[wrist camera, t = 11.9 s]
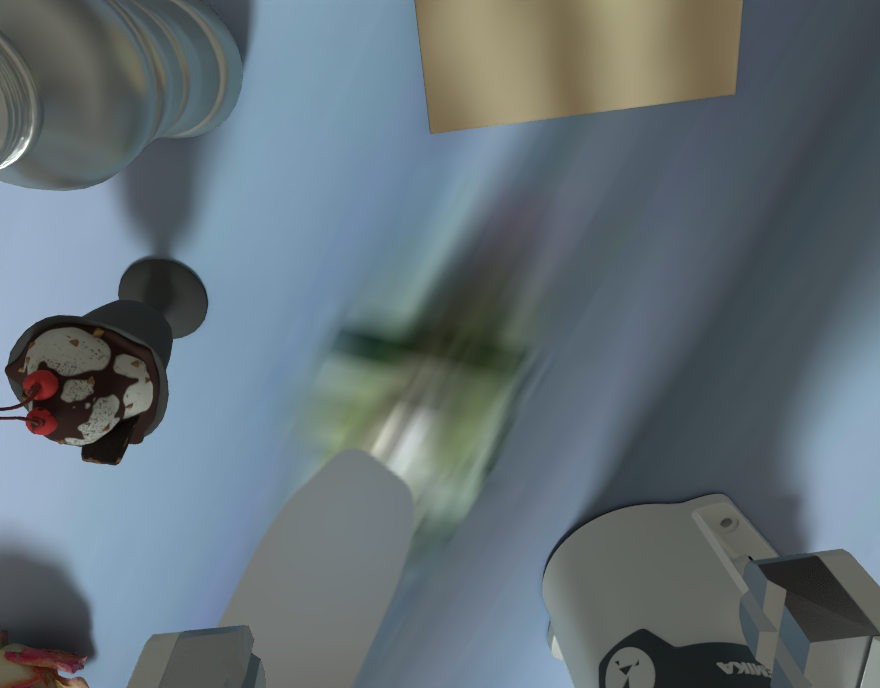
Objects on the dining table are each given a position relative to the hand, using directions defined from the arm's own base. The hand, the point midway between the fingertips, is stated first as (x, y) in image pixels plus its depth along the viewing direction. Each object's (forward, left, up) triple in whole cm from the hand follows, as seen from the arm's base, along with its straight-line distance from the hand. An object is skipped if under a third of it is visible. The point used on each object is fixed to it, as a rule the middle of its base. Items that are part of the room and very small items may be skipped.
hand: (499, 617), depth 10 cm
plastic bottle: (+14, +1, -28) cm, 31 cm away
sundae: (+9, +13, -28) cm, 32 cm away
